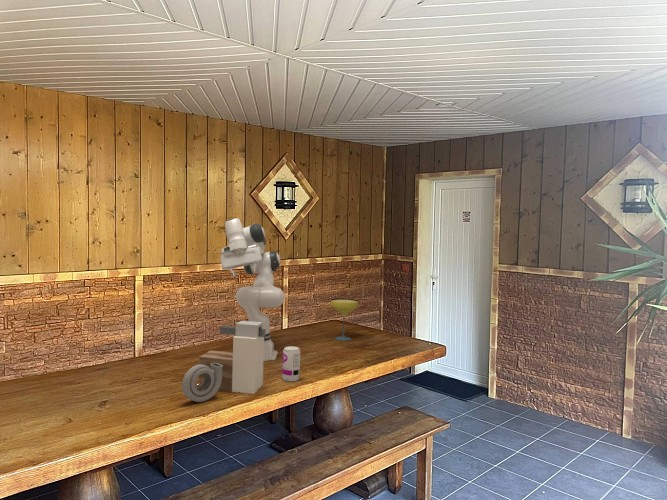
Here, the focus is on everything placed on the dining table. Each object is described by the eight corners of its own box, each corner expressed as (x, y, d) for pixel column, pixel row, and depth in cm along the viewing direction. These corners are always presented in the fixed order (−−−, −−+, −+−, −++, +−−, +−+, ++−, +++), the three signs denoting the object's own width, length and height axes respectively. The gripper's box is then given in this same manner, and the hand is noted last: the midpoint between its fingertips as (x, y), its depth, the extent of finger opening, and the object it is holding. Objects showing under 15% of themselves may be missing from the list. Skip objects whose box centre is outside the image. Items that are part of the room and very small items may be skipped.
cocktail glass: (325, 336, 332) (327, 298, 331) (351, 335, 338) (353, 298, 336) (334, 342, 315) (335, 302, 314) (361, 341, 321) (362, 302, 319)
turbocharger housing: (187, 407, 200) (188, 370, 199) (179, 403, 204) (179, 366, 203) (223, 397, 212) (224, 362, 211) (214, 393, 217) (215, 359, 216)
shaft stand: (241, 383, 232) (243, 319, 230) (262, 385, 230) (264, 321, 228) (231, 391, 220) (233, 324, 218) (254, 394, 218) (255, 326, 216)
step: (209, 380, 234) (210, 350, 233) (241, 383, 232) (242, 353, 231) (198, 388, 222) (199, 357, 222) (231, 391, 220) (232, 360, 219)
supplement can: (283, 382, 235) (284, 350, 234) (280, 377, 243) (281, 346, 242) (300, 381, 237) (302, 350, 236) (297, 376, 245) (298, 345, 244)
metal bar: (222, 332, 227) (222, 325, 227) (265, 335, 224) (265, 328, 223) (219, 333, 224) (220, 326, 224) (263, 337, 221) (263, 330, 221)
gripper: (258, 246, 258) (265, 271, 253) (218, 254, 252) (224, 280, 248) (259, 242, 252) (265, 267, 248) (218, 250, 247) (223, 276, 242)
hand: (244, 274), depth 248 cm, fingers open, 8 cm apart
